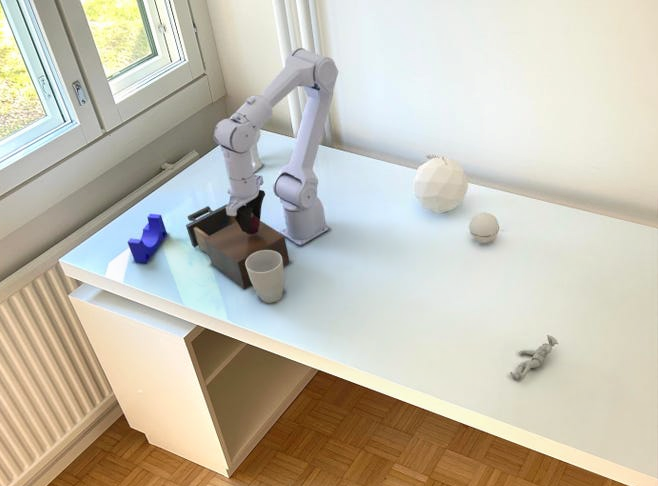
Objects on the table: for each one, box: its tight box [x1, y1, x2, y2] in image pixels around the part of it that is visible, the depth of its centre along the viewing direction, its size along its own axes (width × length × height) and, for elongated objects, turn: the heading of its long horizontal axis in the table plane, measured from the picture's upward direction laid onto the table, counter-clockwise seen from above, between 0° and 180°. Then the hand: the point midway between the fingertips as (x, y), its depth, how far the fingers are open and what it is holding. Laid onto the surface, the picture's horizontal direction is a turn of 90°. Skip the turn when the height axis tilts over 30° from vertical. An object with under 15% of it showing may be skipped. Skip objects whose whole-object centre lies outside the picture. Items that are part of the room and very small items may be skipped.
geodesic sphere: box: [412, 154, 469, 214], centre depth 187 cm, size 15×14×14 cm
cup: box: [245, 250, 285, 304], centre depth 166 cm, size 8×8×10 cm
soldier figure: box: [509, 334, 559, 380], centre depth 150 cm, size 8×5×12 cm
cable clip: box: [127, 213, 168, 264], centre depth 182 cm, size 12×4×6 cm, turn 168°
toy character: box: [250, 128, 263, 173], centre depth 205 cm, size 9×9×15 cm
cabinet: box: [205, 220, 290, 290], centre depth 175 cm, size 13×13×8 cm
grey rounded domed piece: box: [468, 211, 503, 244], centre depth 179 cm, size 10×7×7 cm
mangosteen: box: [246, 213, 261, 235], centre depth 170 cm, size 4×4×4 cm
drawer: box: [185, 203, 237, 255], centre depth 181 cm, size 17×12×6 cm
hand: (251, 225), depth 171 cm, fingers closed on mangosteen, 4 cm apart
